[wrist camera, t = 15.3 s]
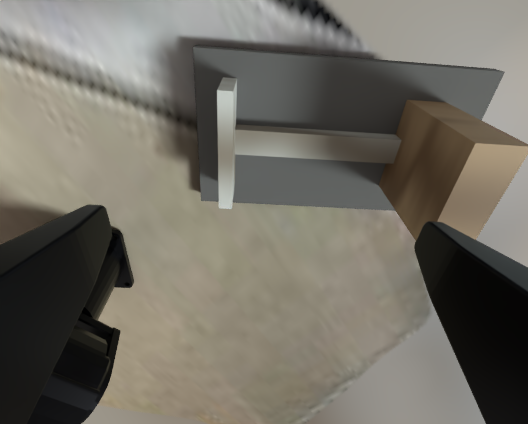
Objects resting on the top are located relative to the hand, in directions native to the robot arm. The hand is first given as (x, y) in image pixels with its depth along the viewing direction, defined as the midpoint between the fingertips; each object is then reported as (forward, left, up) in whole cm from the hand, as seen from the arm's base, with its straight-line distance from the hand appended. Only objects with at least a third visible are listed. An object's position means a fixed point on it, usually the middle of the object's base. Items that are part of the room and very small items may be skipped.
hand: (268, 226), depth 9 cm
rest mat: (-2, -5, -13) cm, 14 cm away
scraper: (-2, -4, -12) cm, 13 cm away
